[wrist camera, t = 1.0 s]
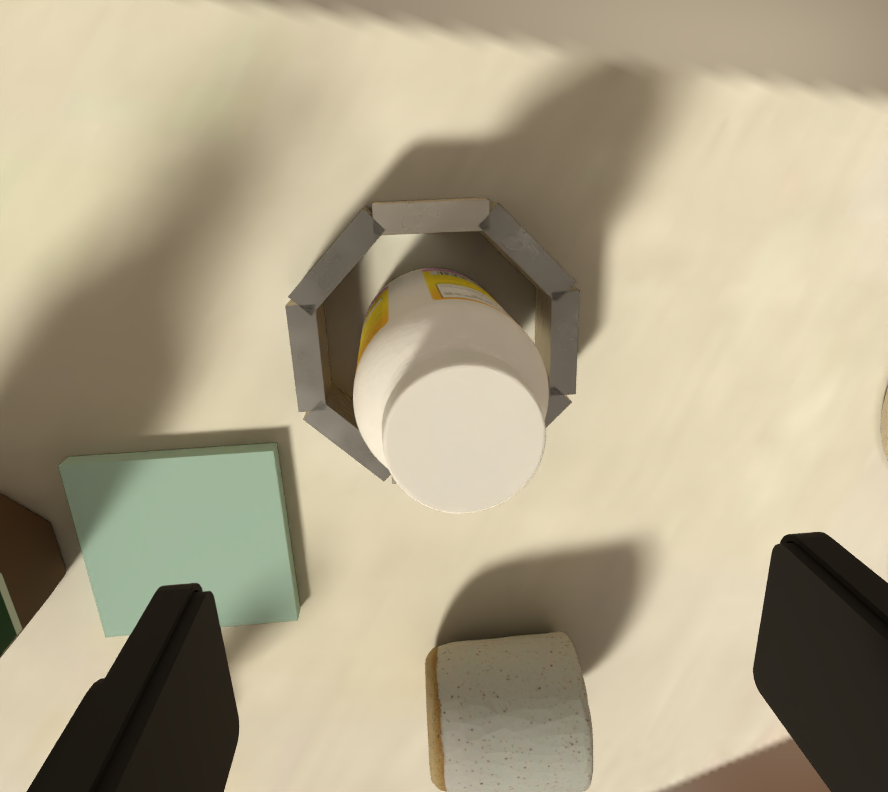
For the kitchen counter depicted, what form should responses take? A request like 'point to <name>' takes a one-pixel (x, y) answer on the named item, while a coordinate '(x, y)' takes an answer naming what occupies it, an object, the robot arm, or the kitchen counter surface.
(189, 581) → the pad
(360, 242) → the collar
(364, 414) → the supplement bottle
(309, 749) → the kitchen counter surface
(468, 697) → the ceramic mug
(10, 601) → the beer bottle
